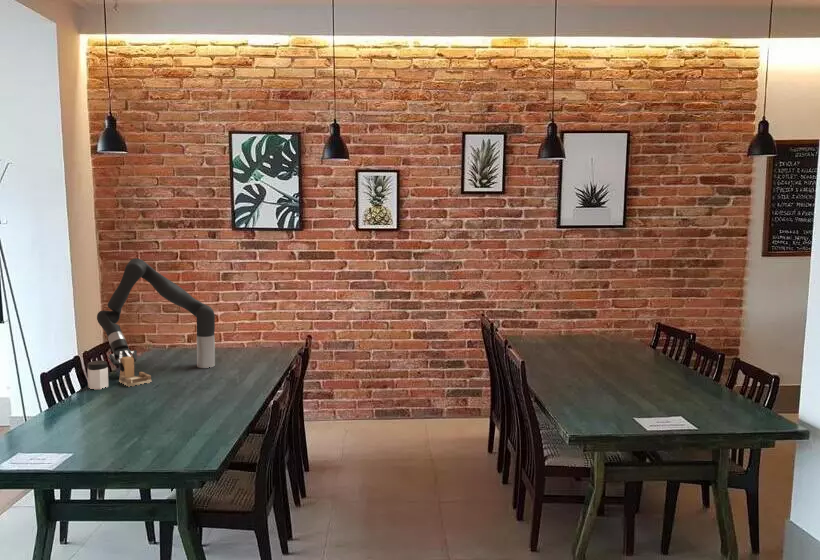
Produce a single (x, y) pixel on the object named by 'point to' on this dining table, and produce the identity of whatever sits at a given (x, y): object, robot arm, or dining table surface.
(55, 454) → the dining table surface
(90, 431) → the dining table surface
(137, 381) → the display stand
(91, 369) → the jar
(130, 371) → the case
